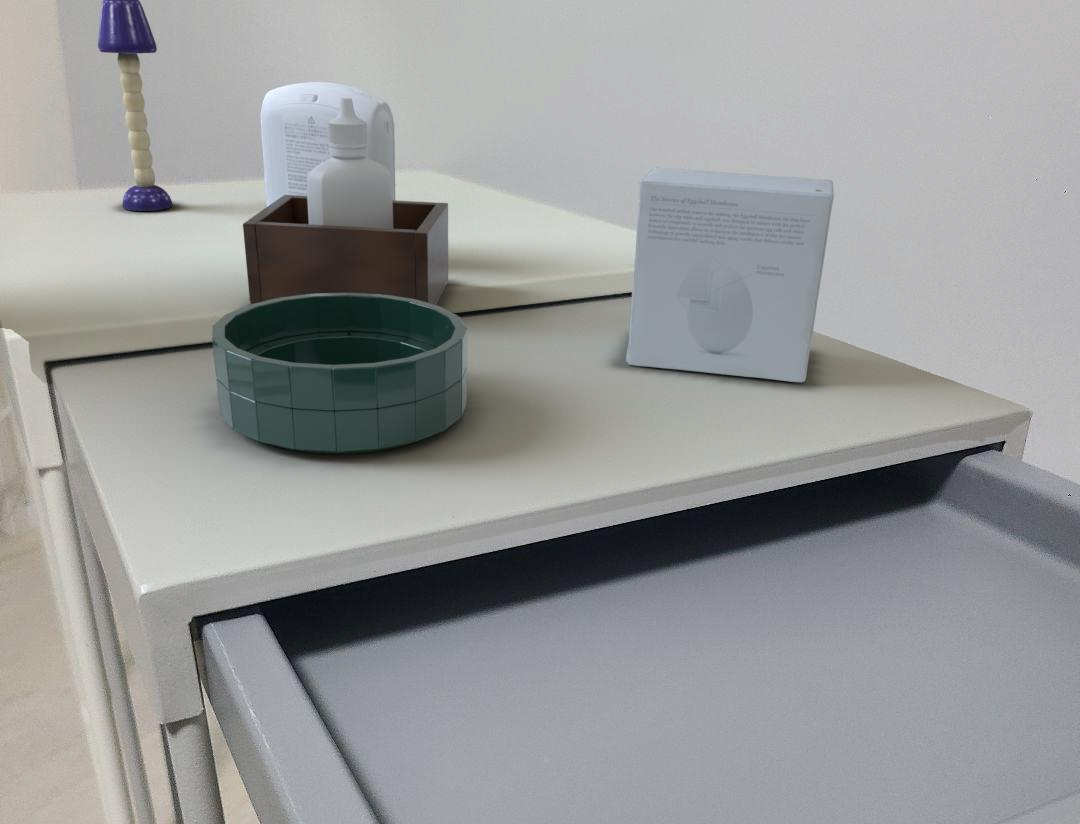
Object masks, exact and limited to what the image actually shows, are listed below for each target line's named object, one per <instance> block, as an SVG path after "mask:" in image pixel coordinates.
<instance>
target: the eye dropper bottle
mask: <svg viewBox="0 0 1080 824" xmlns="http://www.w3.org/2000/svg"><path fill="white" fill-rule="evenodd" d="M328 135H329V153H330V154H331V155H333V156H331V158H330V159H328V160H326V161H324V162H322V163H321V164H319V165H317V166H316V167H315V168H313V169H312V170H311V171H310V173H309V175H308V177H307V203H308V221H309V224H312V225H331V226H350V227H369V228H389V229H393V200H392V180H391V175H390V172H389V171H388V169H387V168H386V167H385V166H383V165H382V164H380V163H378V162H375V161H372V160H369V159H367V158H366V157H365V156H364V155H367V154H368V151H367V123H366V122H365V121H363V120H361V119H359V118H358V117H357V116H356V114H355V111H354V106H353V102H352V98H341V99H340V107H339V113H338V115H337V116H336V117H335V118H334V119H332V120H330V121H329V122H328Z"/></svg>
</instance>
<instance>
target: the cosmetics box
mask: <svg viewBox="0 0 1080 824" xmlns="http://www.w3.org/2000/svg"><path fill="white" fill-rule="evenodd" d="M834 198H835V191H834V181H833V180H832V179H823V178H813V177H812V178H811V177H810V178H809V177H808V178H807V177H795V176H780V175H768V174H754V173H753V174H752V173H737V172H726V171H725V172H724V171H711V170H710V171H709V170H697V169H696V170H695V169H683V168H672V167H671V168H669V167H654V168H652V169H651V170H650V171H649V172H648V173H647V174H646V175H645V176H644V177H643V178H642V179H641V180H640V181H639V183H638V209H637V210H638V211H637V224H636V237H635V251H634V265H633V278H632V292H631V305H630V316H629V317H630V319H629V335H628V336H629V338H628V345H627V347H626V348H627V349H626V355H625V356H626V358H625V362H626V363H627V365H629V366H634V367H635V366H636V367H645V368H647V367H649V368H657V369H658V368H659V369H667V370H668V369H670V370H678V371H688V372H698V373H706V374H716V375H726V376H738V377H747V378H756V379H757V378H759V379H765V380H766V379H767V380H775V381H783V382H791V383H804V382H805V381H806V379H807V374H808V373H807V372H808V365H809V358H810V353H811V345H812V340H813V333H814V327H815V320H816V314H817V306H818V301H819V295H820V289H821V282H822V276H823V269H824V262H825V257H826V251H827V250H826V249H827V243H828V235H829V229H830V223H831V216H832V209H833V204H834Z"/></svg>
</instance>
